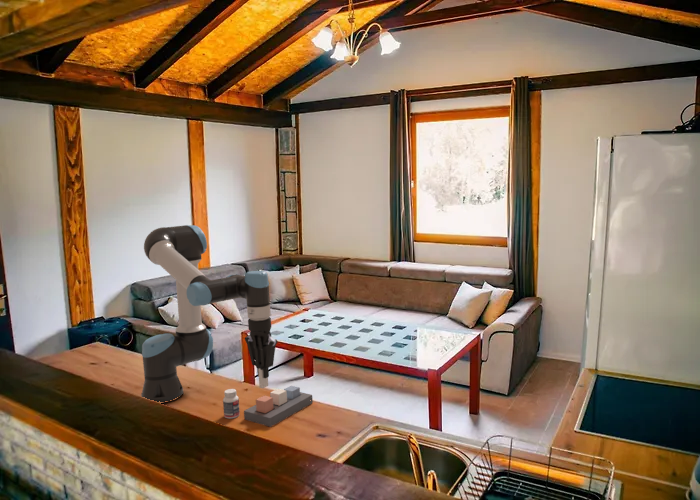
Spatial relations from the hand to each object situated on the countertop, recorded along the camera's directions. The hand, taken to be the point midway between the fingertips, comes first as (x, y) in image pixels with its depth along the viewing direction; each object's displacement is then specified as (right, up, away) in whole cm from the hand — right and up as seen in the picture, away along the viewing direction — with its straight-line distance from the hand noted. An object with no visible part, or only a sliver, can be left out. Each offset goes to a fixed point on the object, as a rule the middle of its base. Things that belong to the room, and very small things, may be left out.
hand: (263, 386), depth 175 cm
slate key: (+8, -8, +12) cm, 17 cm away
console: (+4, -10, +7) cm, 13 cm away
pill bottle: (-12, -12, +5) cm, 17 cm away
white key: (+4, -7, +6) cm, 11 cm away
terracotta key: (0, -8, +1) cm, 8 cm away
